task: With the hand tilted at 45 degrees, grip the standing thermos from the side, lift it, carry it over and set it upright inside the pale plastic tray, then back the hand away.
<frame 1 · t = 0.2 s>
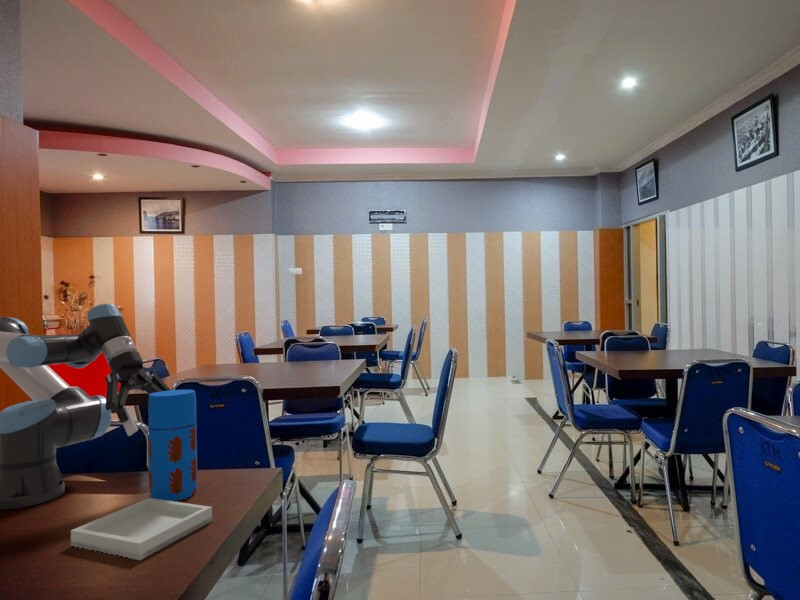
hand: (155, 428, 126), 16 cm above the table, tool tilted 35°, fingers open, 13 cm apart
tray: (145, 533, 102), on the table
thermos: (174, 495, 124), on the table
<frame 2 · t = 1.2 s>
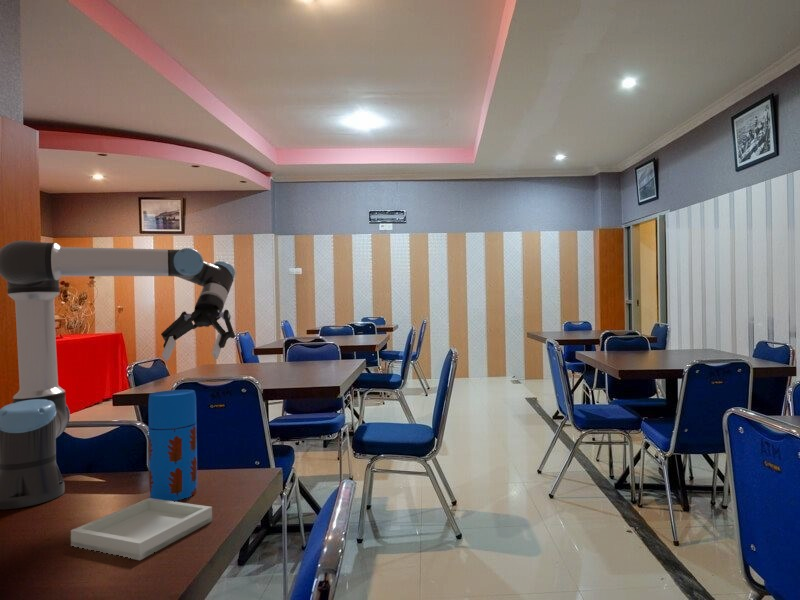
hand: (189, 356, 135), 33 cm above the table, tool tilted 45°, fingers open, 13 cm apart
nothing on the table moved.
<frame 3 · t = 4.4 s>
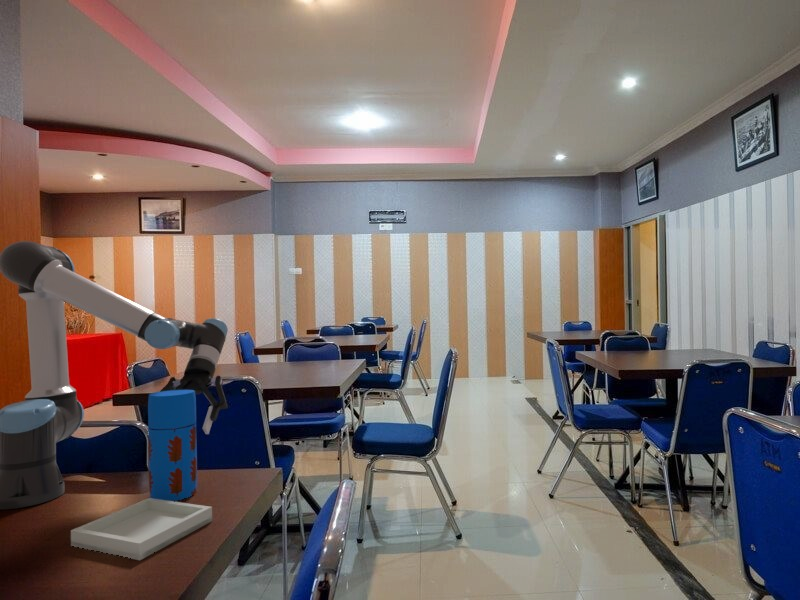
hand: (178, 432, 125), 15 cm above the table, tool tilted 45°, fingers open, 13 cm apart
nothing on the table moved.
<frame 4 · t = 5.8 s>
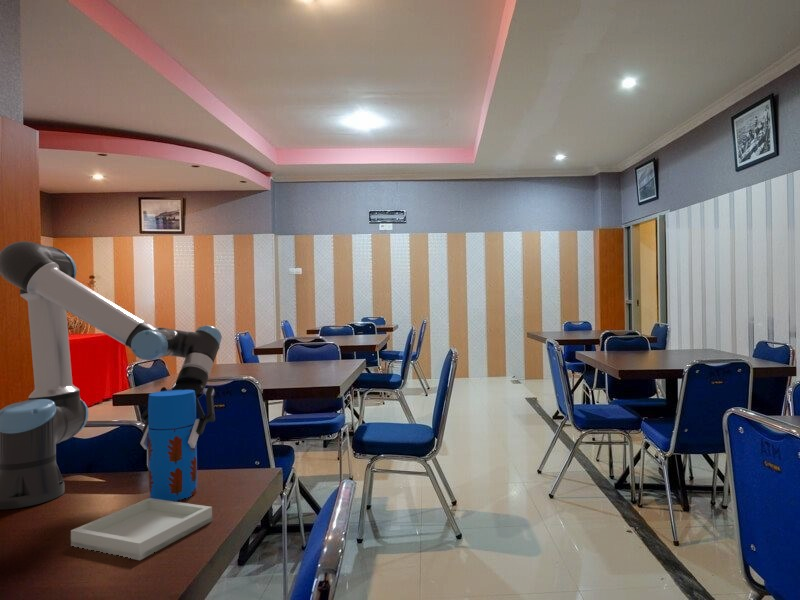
hand: (167, 445, 121), 13 cm above the table, tool tilted 45°, fingers closed on thermos, 11 cm apart
thermos: (173, 495, 124), on the table, touching gripper
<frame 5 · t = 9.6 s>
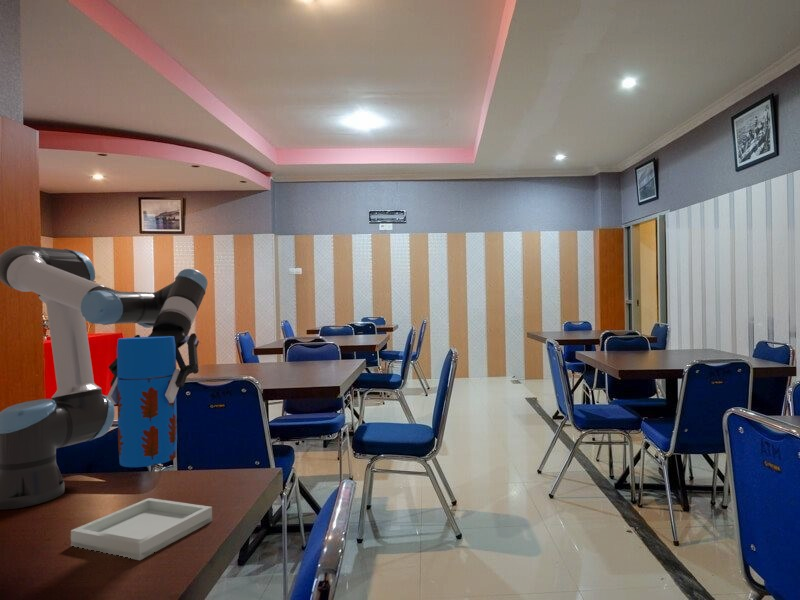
hand: (140, 399, 101), 27 cm above the table, tool tilted 45°, fingers closed on thermos, 11 cm apart
thermos: (148, 460, 103), point 14 cm above the table, touching gripper
when the fingers open (15 cm above the table, at t = 13.3 s): thermos stays where it is, resting on tray.
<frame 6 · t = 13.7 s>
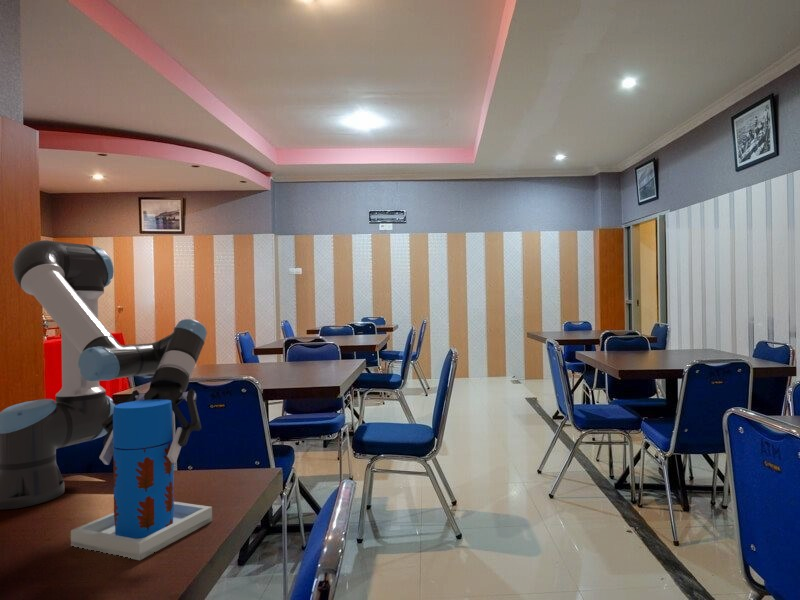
hand: (137, 460, 100), 15 cm above the table, tool tilted 45°, fingers open, 13 cm apart
thermos: (145, 528, 102), point 1 cm above the table, touching tray
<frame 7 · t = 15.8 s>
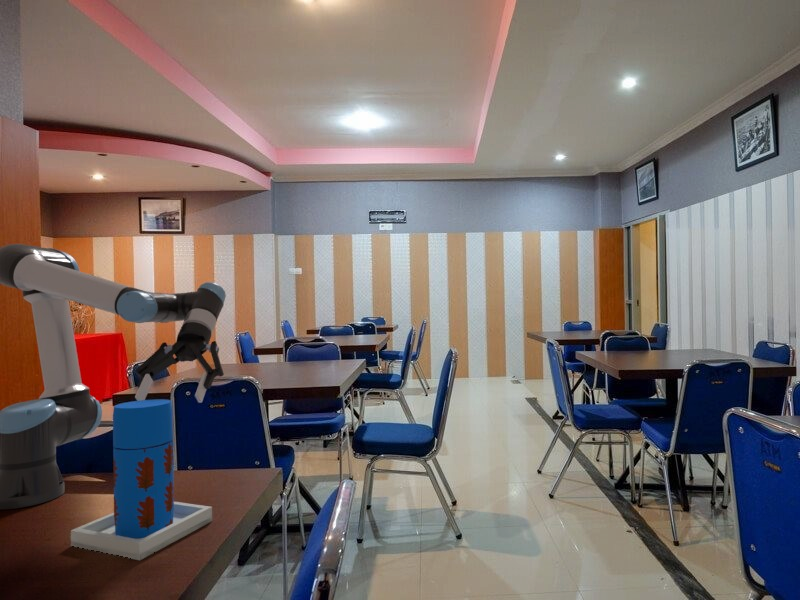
hand: (168, 400, 113), 25 cm above the table, tool tilted 45°, fingers open, 13 cm apart
nothing on the table moved.
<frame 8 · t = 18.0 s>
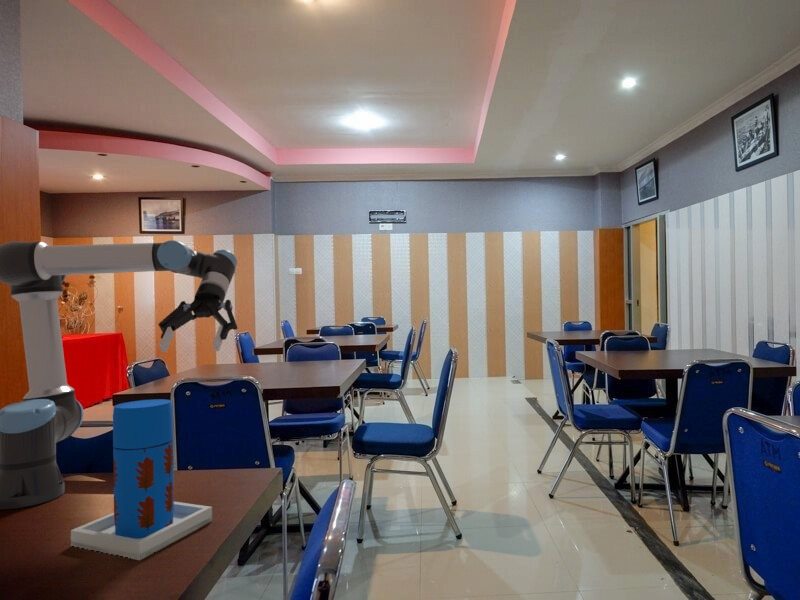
hand: (189, 348, 126), 36 cm above the table, tool tilted 45°, fingers open, 13 cm apart
nothing on the table moved.
at the end: thermos inside the target area on the tray (0.1 cm from its centre), point 0.8 cm above the tray's base; thermos tilted 0°; the gripper is holding nothing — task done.
